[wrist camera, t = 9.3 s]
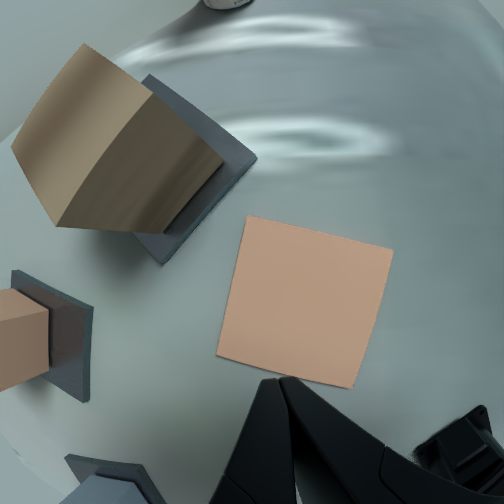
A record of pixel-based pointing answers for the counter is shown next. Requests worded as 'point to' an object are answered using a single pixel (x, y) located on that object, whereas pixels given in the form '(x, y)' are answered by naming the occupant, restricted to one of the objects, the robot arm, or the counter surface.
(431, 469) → the robot arm
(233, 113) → the counter surface
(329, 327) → the card
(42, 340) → the tan block
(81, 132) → the brown wooden block
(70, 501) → the blue-grey rectangular block
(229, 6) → the beer can
